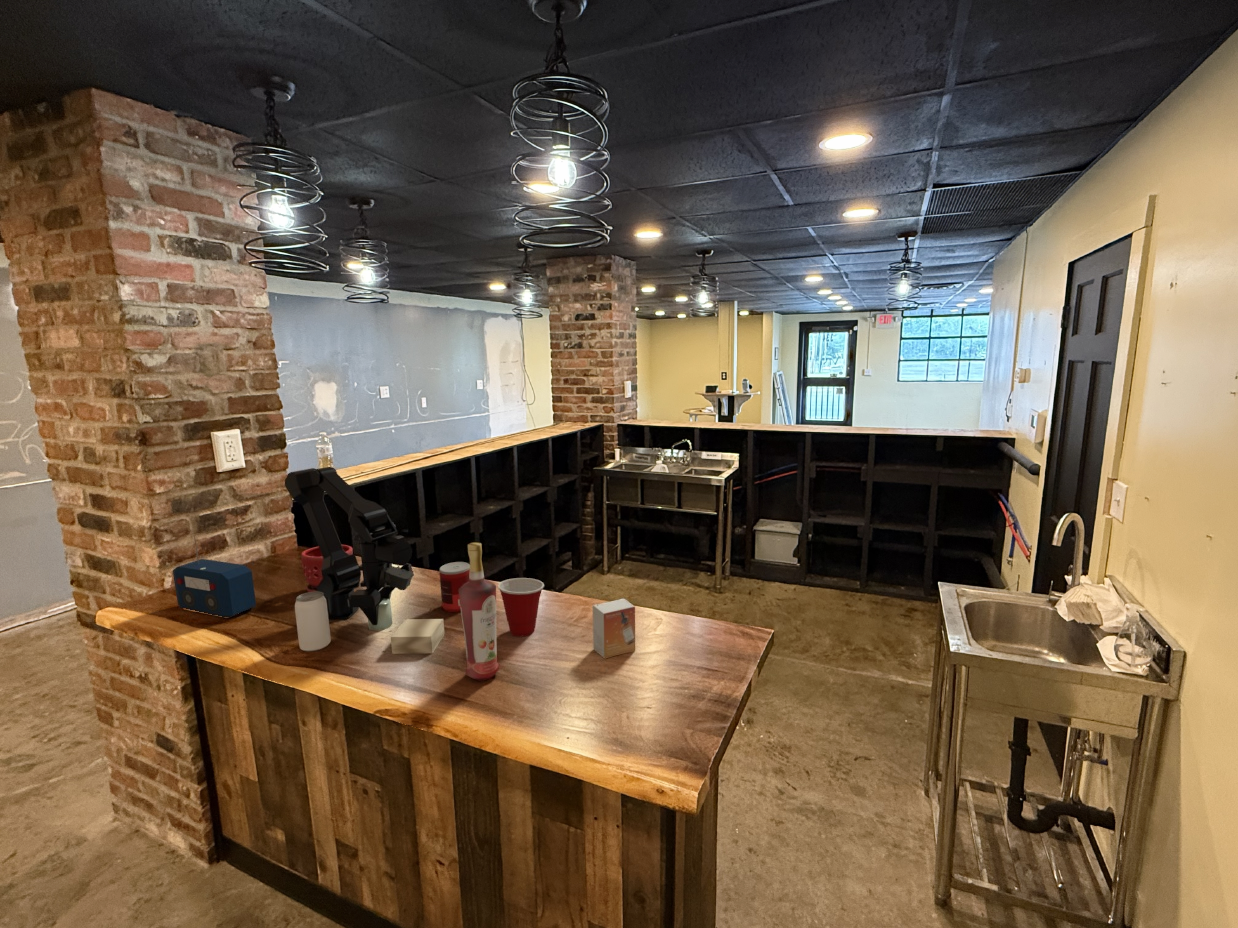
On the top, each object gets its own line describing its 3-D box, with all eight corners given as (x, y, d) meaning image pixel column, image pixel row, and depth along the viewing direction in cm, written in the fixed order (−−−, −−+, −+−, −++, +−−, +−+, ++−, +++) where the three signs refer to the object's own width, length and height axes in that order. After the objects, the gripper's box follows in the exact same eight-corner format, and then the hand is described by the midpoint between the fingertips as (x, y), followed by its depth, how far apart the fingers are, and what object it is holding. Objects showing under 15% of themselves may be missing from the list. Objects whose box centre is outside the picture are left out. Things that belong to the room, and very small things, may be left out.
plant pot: (343, 598, 164) (338, 556, 162) (296, 599, 164) (291, 557, 162) (363, 581, 177) (360, 542, 175) (320, 581, 177) (315, 542, 175)
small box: (603, 659, 128) (602, 613, 126) (592, 648, 133) (591, 604, 131) (636, 650, 131) (635, 606, 130) (624, 640, 136) (623, 597, 135)
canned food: (476, 600, 161) (474, 561, 159) (466, 613, 153) (463, 572, 151) (449, 599, 162) (446, 561, 160) (437, 612, 154) (434, 571, 152)
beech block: (392, 653, 132) (390, 636, 132) (406, 635, 141) (405, 619, 140) (432, 653, 132) (431, 636, 131) (444, 634, 141) (443, 618, 140)
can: (337, 640, 139) (332, 592, 137) (315, 653, 133) (309, 603, 131) (315, 637, 141) (310, 589, 139) (293, 649, 135) (286, 599, 133)
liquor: (483, 688, 118) (474, 552, 113) (457, 678, 121) (447, 546, 117) (508, 671, 124) (501, 542, 119) (482, 662, 128) (474, 537, 123)
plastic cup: (555, 629, 142) (553, 582, 140) (519, 646, 135) (516, 596, 133) (527, 617, 150) (524, 571, 148) (491, 631, 142) (488, 584, 140)
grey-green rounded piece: (364, 630, 144) (362, 607, 143) (374, 620, 149) (371, 598, 148) (387, 630, 144) (385, 606, 143) (395, 620, 149) (393, 597, 148)
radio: (173, 611, 158) (161, 538, 154) (205, 598, 166) (195, 529, 162) (228, 622, 150) (217, 546, 147) (259, 608, 158) (250, 536, 155)
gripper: (392, 572, 134) (398, 636, 137) (420, 546, 153) (425, 603, 155) (343, 572, 134) (350, 637, 137) (377, 547, 153) (382, 604, 156)
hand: (380, 619), depth 146 cm, fingers closed on grey-green rounded piece, 5 cm apart
